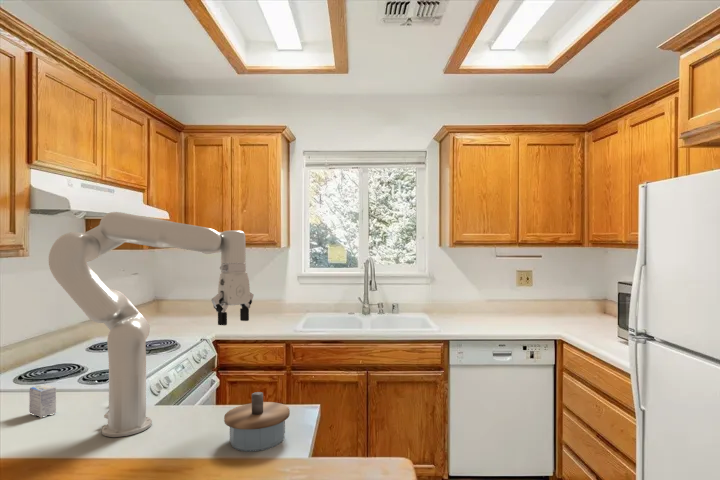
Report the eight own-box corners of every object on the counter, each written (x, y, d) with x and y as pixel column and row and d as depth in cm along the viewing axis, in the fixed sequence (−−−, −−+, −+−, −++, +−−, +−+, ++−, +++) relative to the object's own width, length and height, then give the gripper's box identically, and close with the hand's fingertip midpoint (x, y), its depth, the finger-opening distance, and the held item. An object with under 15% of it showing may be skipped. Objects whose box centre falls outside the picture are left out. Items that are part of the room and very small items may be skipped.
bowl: (219, 445, 108) (218, 421, 108) (255, 425, 120) (255, 404, 121) (261, 455, 101) (260, 430, 102) (295, 433, 114) (294, 411, 114)
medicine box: (56, 414, 133) (56, 386, 134) (40, 419, 129) (40, 390, 130) (44, 410, 137) (45, 383, 138) (28, 414, 133) (29, 387, 134)
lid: (209, 422, 107) (209, 399, 108) (254, 402, 123) (254, 381, 123) (261, 434, 100) (261, 408, 100) (302, 410, 115) (301, 388, 115)
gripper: (221, 269, 124) (222, 327, 123) (260, 268, 139) (261, 319, 138) (203, 270, 127) (203, 326, 126) (243, 268, 142) (243, 318, 141)
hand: (233, 322), depth 132 cm, fingers open, 9 cm apart
